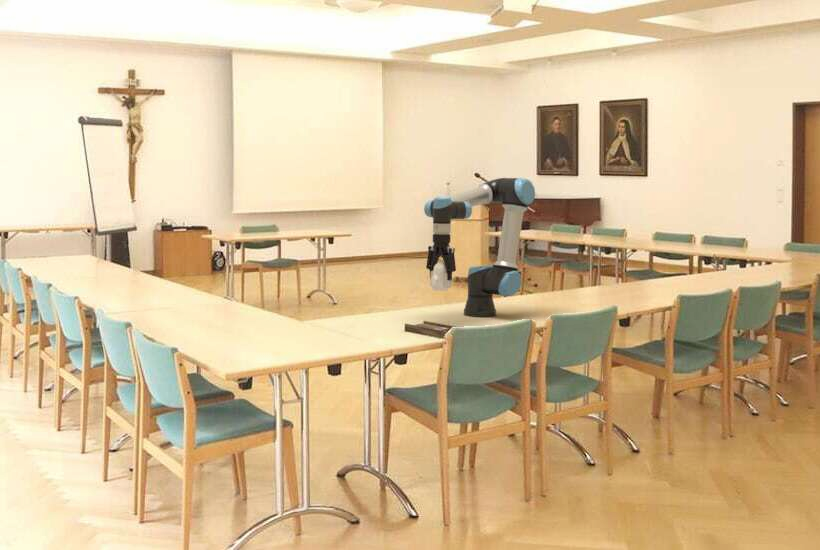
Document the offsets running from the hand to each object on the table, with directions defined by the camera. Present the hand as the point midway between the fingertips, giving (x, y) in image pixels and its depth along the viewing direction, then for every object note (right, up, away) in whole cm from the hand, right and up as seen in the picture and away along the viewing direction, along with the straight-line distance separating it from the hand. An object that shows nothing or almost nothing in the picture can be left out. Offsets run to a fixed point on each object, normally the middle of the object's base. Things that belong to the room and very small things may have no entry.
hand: (440, 286), depth 380 cm
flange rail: (-4, -19, -11) cm, 22 cm away
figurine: (0, -1, 0) cm, 2 cm away
